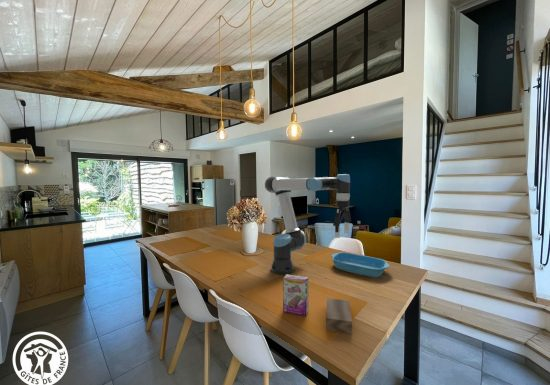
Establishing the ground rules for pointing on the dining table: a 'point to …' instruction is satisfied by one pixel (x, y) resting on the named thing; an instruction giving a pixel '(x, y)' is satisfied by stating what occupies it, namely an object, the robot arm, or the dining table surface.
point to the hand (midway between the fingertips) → (342, 235)
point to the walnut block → (338, 316)
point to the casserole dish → (359, 264)
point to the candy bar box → (295, 294)
